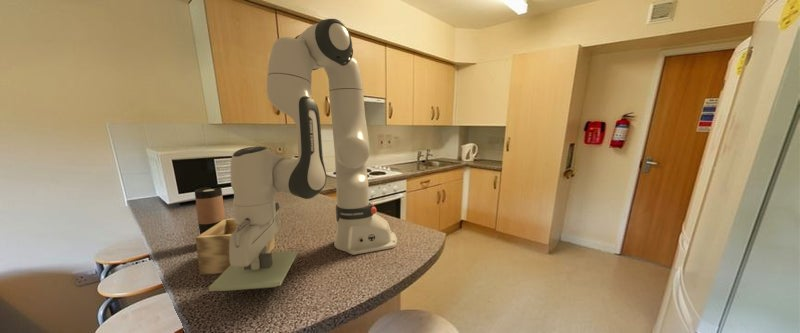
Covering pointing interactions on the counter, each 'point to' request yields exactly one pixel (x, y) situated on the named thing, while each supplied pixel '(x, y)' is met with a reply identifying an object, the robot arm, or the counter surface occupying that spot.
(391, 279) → the counter surface
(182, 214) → the counter surface
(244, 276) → the lid
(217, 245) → the box
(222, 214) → the travel mug
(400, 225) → the counter surface
